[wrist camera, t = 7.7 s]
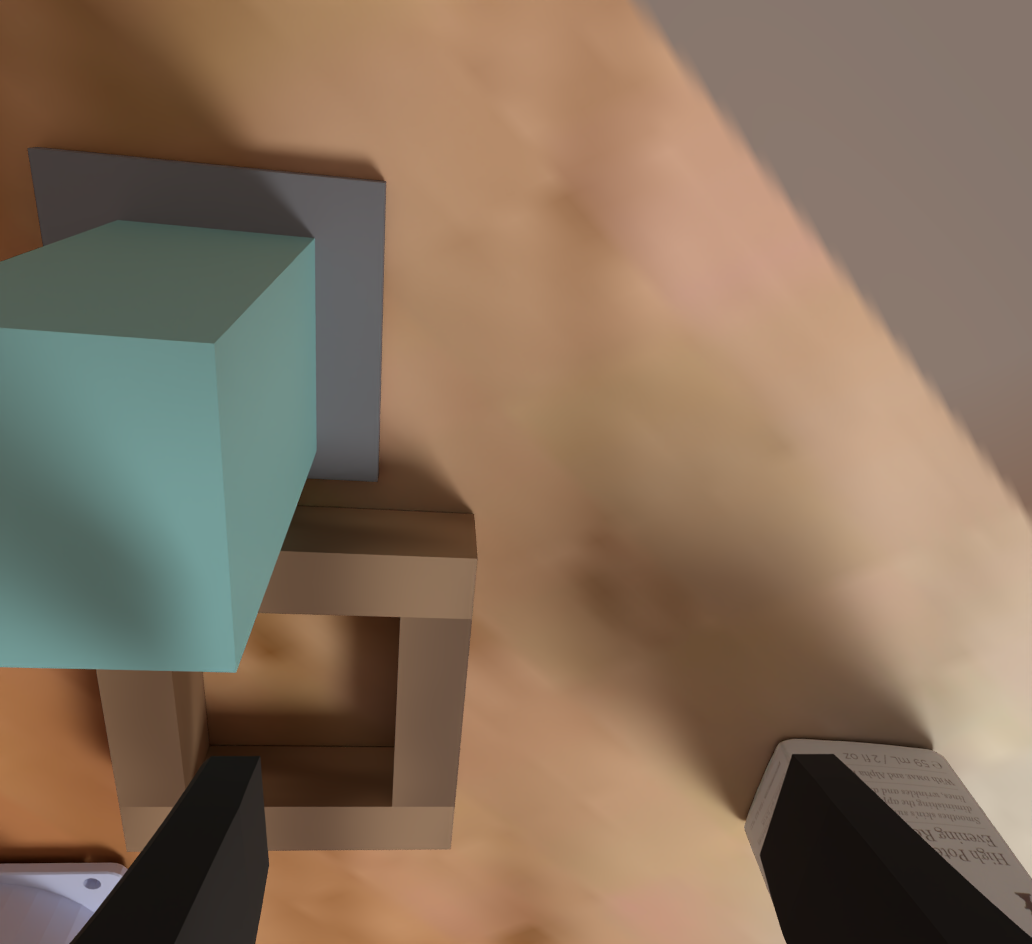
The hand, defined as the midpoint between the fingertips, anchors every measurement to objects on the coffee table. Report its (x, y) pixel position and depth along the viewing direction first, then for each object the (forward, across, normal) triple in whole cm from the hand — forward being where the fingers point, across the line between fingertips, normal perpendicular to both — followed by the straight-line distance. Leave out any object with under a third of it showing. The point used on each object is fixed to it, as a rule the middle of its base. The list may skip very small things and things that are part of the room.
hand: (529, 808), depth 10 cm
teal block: (+10, +6, -3) cm, 12 cm away
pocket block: (+10, +5, +6) cm, 13 cm away
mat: (+10, +6, -4) cm, 13 cm away
